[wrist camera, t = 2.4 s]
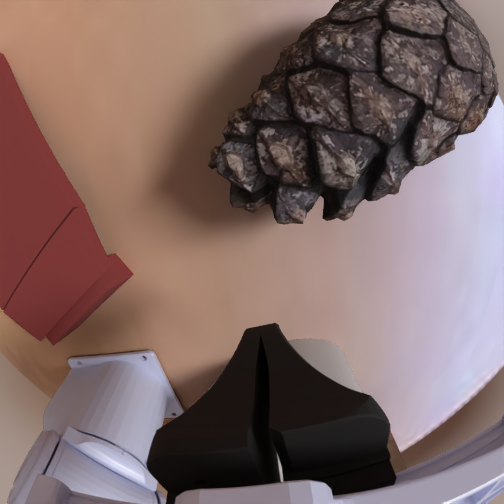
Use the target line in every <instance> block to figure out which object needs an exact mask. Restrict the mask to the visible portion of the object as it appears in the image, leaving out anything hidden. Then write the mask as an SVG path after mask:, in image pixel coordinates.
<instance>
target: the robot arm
mask: <svg viewBox="0 0 504 504" xmlns="http://www.w3.org/2000/svg"><path fill="white" fill-rule="evenodd" d="M143 356H145V357H146V358H144V357H143ZM68 364H69V365H70V367H71V370H70V372H69V373H68V375H67V376H66V378H65V379H64V381H63V382H62V384H61V385H60V387H59V388H58V390H57V391H56V393H55V394H54V396H53V397H52V399H51V400H50V402H49V404H48V405H47V407H46V409H45V413H44V418H43V429H44V431H42V433H41V434H40V436H39V437H38V438H37V440H36V441H35V443H34V445H33V446H32V448H31V450H30V451H29V453H28V455H27V456H26V458H25V460H24V462H23V464H22V466H21V468H20V470H19V472H18V474H17V476H16V478H15V480H14V483H13V487H12V489H11V491H10V493H9V496H8V499H7V504H486V503H488V502H489V501H491V500H492V499H494V498H495V497H496V496H498V495H499V494H500V493H502V492H503V491H504V414H503V417H502V420H500V421H499V422H497V423H495V424H494V425H492V426H491V427H489V428H488V429H486V430H484V431H483V432H481V433H479V434H478V435H476V436H474V437H472V438H471V439H469V440H467V441H466V442H464V443H462V444H460V445H458V446H456V447H454V448H453V449H450V450H448V451H446V452H444V453H442V454H440V455H438V456H436V457H434V458H432V459H430V460H428V461H425V462H423V463H420V464H418V465H416V466H413V467H411V468H408V469H406V470H403V471H401V472H398V473H395V472H394V469H393V467H392V464H391V462H390V458H391V456H390V453H389V450H388V448H387V445H388V440H389V435H390V423H389V420H388V418H387V416H386V415H385V413H384V412H383V410H382V409H381V407H380V406H379V405H378V403H377V402H376V401H375V400H374V399H373V398H372V396H370V395H367V394H364V393H361V392H358V391H355V390H352V389H350V388H347V387H345V386H343V385H341V384H339V383H337V382H336V381H334V380H332V379H330V378H329V377H327V376H325V375H324V374H322V373H321V372H319V371H318V370H317V369H315V368H314V367H313V366H312V365H310V364H309V363H308V362H307V361H306V360H305V359H304V358H303V357H302V356H301V355H300V354H299V353H298V352H297V351H296V350H295V349H294V348H293V347H292V346H291V344H290V343H289V342H288V341H287V339H286V338H285V336H284V335H283V333H282V332H281V330H280V328H279V325H278V324H276V323H273V324H268V325H263V326H258V327H253V328H248V329H246V330H245V331H244V334H243V336H242V339H241V341H240V343H239V345H238V347H237V349H236V351H235V353H234V355H233V357H232V358H231V360H230V362H229V363H228V365H227V366H226V368H225V370H224V371H223V373H222V374H221V376H220V377H219V378H218V380H217V381H216V382H215V383H214V385H213V386H212V387H211V388H210V389H209V390H208V391H207V392H206V393H205V394H204V395H203V396H202V397H201V398H200V399H199V400H198V401H197V402H196V403H195V404H194V405H193V406H191V407H190V408H189V409H188V410H186V411H185V412H184V410H183V408H182V406H181V404H180V402H179V400H178V398H177V397H176V395H175V393H174V391H173V389H172V387H171V385H170V383H169V381H168V379H167V377H166V375H165V373H164V371H163V369H162V367H161V365H160V363H159V361H158V359H157V356H156V354H155V353H154V352H153V351H150V350H147V351H138V352H129V353H119V354H109V355H97V356H84V357H71V358H69V360H68ZM175 417H177V418H175ZM164 418H175V419H174V420H172V421H171V422H169V423H167V424H166V425H164V426H162V425H163V421H164ZM277 454H278V457H279V460H280V463H281V466H282V474H283V482H281V478H280V472H279V464H278V457H277ZM158 482H159V483H160V484H161V485H162V486H163V487H164V488H165V489H166V490H167V491H168V493H167V499H166V498H165V496H164V495H163V494H162V493H161V492H160V491H158V490H156V488H157V483H158Z"/></svg>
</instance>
